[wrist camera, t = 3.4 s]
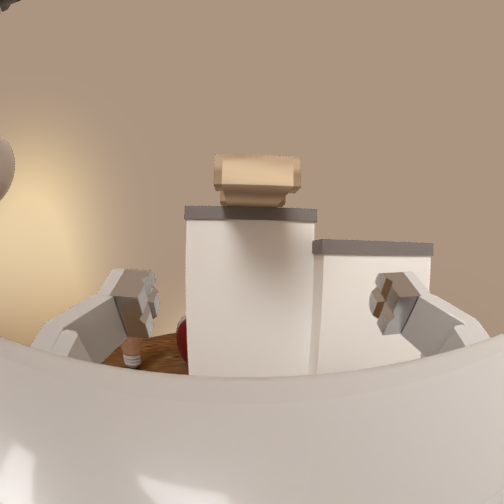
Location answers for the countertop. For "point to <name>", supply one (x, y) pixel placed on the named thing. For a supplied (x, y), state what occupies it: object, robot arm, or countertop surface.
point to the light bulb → (132, 351)
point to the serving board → (256, 179)
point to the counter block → (286, 294)
